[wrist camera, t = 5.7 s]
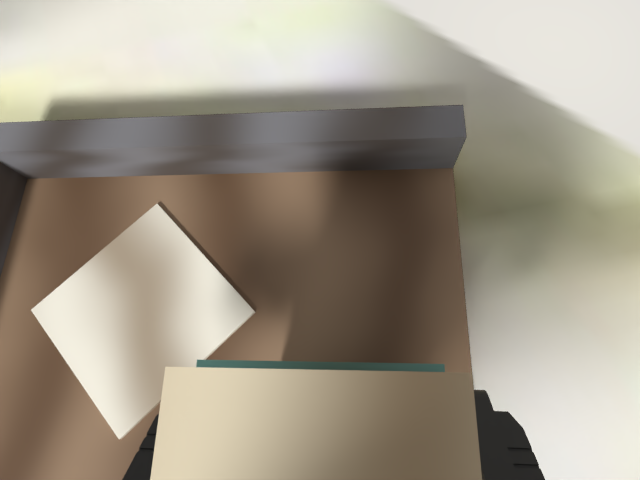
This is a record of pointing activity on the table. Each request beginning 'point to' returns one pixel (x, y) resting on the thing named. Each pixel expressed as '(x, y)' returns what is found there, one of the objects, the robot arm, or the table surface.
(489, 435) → the robot arm
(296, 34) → the table surface
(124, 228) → the tray
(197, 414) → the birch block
